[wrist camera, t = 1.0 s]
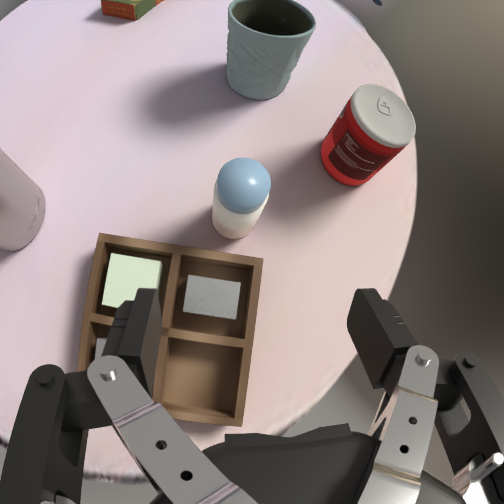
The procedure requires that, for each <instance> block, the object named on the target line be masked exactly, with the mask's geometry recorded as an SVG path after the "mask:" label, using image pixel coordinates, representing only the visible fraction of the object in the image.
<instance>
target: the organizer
mask: <svg viewBox="0 0 504 504" xmlns="http://www.w3.org/2000/svg"><path fill="white" fill-rule="evenodd" d="M111 253H114V254H120V255H126V256H132V257H137V258H143V259H149V260H156V261H161V263H162V264H163V266H164V271H163V277H162V283H161V289H160V296H159V303H160V311H161V319H162V332H161V339H160V345H159V351H158V357H157V364H156V370H155V377H154V384H153V391H152V400H153V401H154V402H155V403H156V402H159V403H160V404H161V405H162V406H163V407H164V408H165V410H166V411H167V412H168V413H169V414H170V416H171V417H172V418H174V419H180V420H187V421H194V422H201V423H209V424H217V425H227V426H238V427H242V422H243V415H244V408H245V400H246V392H247V385H248V377H249V370H250V362H251V354H252V346H253V339H254V331H255V323H256V315H257V307H258V299H259V291H260V282H261V274H262V266H263V258H256V257H250V256H243V255H237V254H230V253H224V252H218V251H211V250H205V249H198V248H192V247H186V246H179V245H173V244H167V243H160V242H154V241H148V240H141V239H135V238H129V237H122V236H116V235H110V234H104V233H99V236H98V240H97V245H96V249H95V254H94V258H93V263H92V268H91V273H90V279H89V284H88V290H87V296H86V302H85V308H84V315H83V322H82V330H81V338H80V346H79V356H78V367H77V372H80V371H84V370H87V369H88V367H89V365H90V364H91V363H92V362H93V361H94V360H95V353H96V344H97V339H98V338H107V337H108V334H109V331H110V328H111V325H112V322H113V320H114V317H115V314H116V311H117V308H116V307H111V306H107V305H102V301H103V295H104V289H105V283H106V278H107V272H108V267H109V262H110V257H111ZM188 275H194V276H200V277H206V278H213V279H220V280H226V281H233V282H240V283H241V285H240V293H239V300H238V308H237V316H236V319H235V320H232V319H225V318H218V317H211V316H205V315H198V314H192V313H185V312H183V307H184V301H185V294H186V287H187V281H188Z"/></svg>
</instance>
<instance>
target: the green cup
mask: <svg viewBox="0 0 504 504" xmlns="http://www.w3.org/2000/svg"><path fill="white" fill-rule="evenodd" d="M315 27H316V21H315V18H314V16H313V15H312V13H311V12H310V11H309V10H308V9H307V8H305V7H304V6H302V5H301V4H299V3H297V2H295V1H293V0H234V1H233V2H232V3H231V4H230V5H229V8H228V29H229V33H228V39H227V40H228V41H227V45H228V46H227V50H228V52H227V66H226V78H227V81H228V83H229V85H230V87H231V88H232V89H233V90H234V91H235V92H237V93H238V94H240V95H242V96H244V97H247V98H250V99H257V100H265V99H270V98H273V97H276V96H277V95H279V94H280V93H281V92H282V91H283V90H284V89H285V87H286V85H287V83H288V81H289V79H290V77H291V72H292V71H293V69H294V68H295V67H296V64H297V62H298V60H299V58H300V55H301V53H302V51H303V49H304V47H305V45H306V44H307V42H308V41H309V39H310V37H311V35H312V33H313V31H314V30H315Z"/></svg>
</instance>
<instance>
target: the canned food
mask: <svg viewBox="0 0 504 504" xmlns="http://www.w3.org/2000/svg"><path fill="white" fill-rule="evenodd" d="M415 130H416V126H415V121H414V117H413V115H412V113H411V111H410V109H409V107H408V106H407V105H406V103H405V102H404V101H403V100H402V99H401V98H400V97H399V96H398V95H396V94H395V93H394V92H392V91H391V90H389V89H387V88H385V87H383V86H379V85H375V84H366V85H363V86H361V87H359V88H358V89H357V90H356V91H355V92H354V94H353V95H352V96H351V98H350V99H349V101H348V102H347V104H346V105H345V107H344V109H343V110H342V112H341V113H340V115H339V117H338V118H337V120H336V121H335V123H334V124H333V126H332V128H331V129H330V131H329V132H328V134H327V136H326V137H325V139H324V140H323V143H322V147H321V159H322V163H323V165H324V167H325V169H326V171H327V172H328V173H329V174H330V175H331V176H332V177H333V178H334V179H335V180H336V181H338V182H340V183H342V184H345V185H350V186H354V185H360V184H363V183H365V182H367V181H368V180H370V179H371V178H372V177H373V176H374V175H375V174H376V173H377V172H378V171H380V170H381V169H382V168H383V167H384V166H385V165H386V164H387V163H388V162H389V161H391V160H392V159H393V158H394V157H395V156H396V155H397V154H398V153H399V152H400V151H401V150H403V148H404V147H405V146H407V145H408V144H409V142H410V141H411V140H412V139H413V137H414V135H415Z"/></svg>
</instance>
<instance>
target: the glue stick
mask: <svg viewBox="0 0 504 504" xmlns="http://www.w3.org/2000/svg"><path fill="white" fill-rule="evenodd" d="M270 188H271V179H270V175H269V173H268V171H267V170H266V168H265V167H264V166H263V165H262V164H260V163H259V162H257V161H255V160H253V159H249V158H237V159H233V160H231V161H229V162H227V163H226V164H225V165H224V166H223V167H222V168H221V170H220V172H219V175H218V179H217V181H216V183H215V187H214V198H213V210H212V222H213V225H214V228H215V229H216V231H217V232H218V233H219V234H221V235H222V236H224V237H226V238H229V239H240V238H243V237H245V236H247V235H248V234H249V233H250V232H251V231H252V230H253V228H254V226H255V224H256V222H257V220H258V218H259V216H260V214H261V212H262V210H263V208H264V206H265V204H266V202H267V200H268V196H269V191H270Z"/></svg>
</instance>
